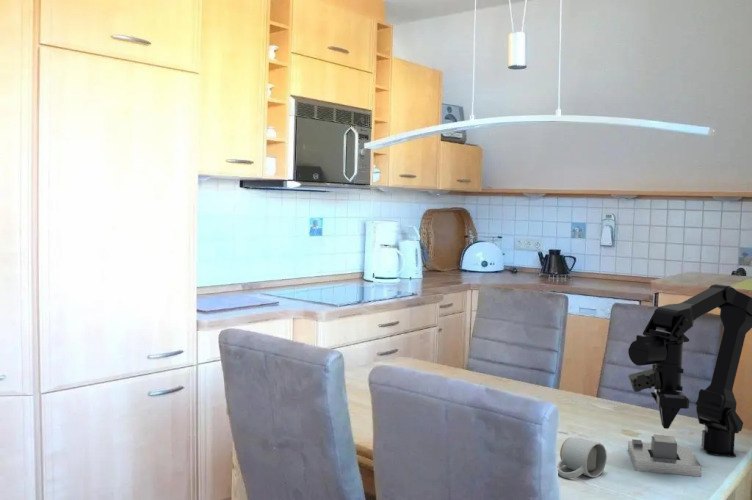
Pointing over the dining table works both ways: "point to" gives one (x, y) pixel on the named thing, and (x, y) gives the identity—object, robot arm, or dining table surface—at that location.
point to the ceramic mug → (582, 457)
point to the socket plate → (663, 460)
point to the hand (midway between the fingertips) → (665, 427)
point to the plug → (663, 447)
